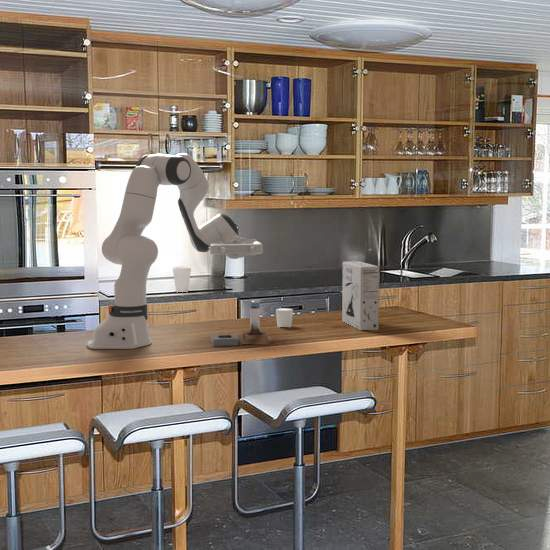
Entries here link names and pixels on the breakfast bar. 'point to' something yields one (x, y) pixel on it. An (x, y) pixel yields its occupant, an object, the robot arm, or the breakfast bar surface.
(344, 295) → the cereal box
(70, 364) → the breakfast bar surface
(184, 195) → the robot arm
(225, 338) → the socket
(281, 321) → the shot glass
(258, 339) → the rack
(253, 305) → the drill rod
